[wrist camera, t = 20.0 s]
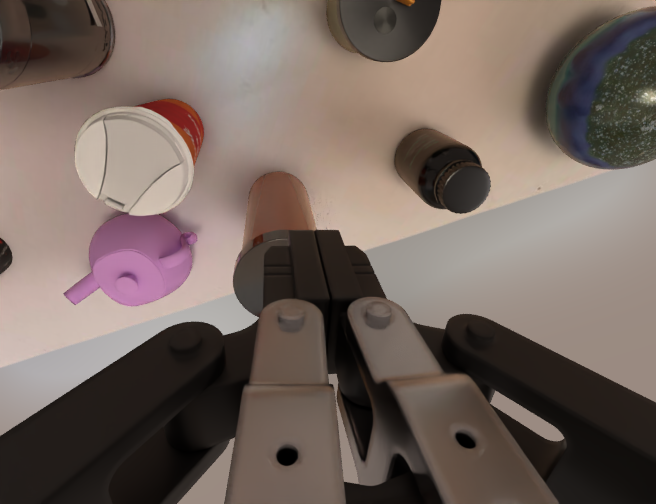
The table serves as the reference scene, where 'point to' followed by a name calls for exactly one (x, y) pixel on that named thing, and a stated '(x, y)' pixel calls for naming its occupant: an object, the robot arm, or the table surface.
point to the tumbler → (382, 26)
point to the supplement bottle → (442, 171)
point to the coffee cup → (140, 155)
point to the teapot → (136, 260)
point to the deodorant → (4, 256)
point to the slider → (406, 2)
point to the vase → (608, 95)
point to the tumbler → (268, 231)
